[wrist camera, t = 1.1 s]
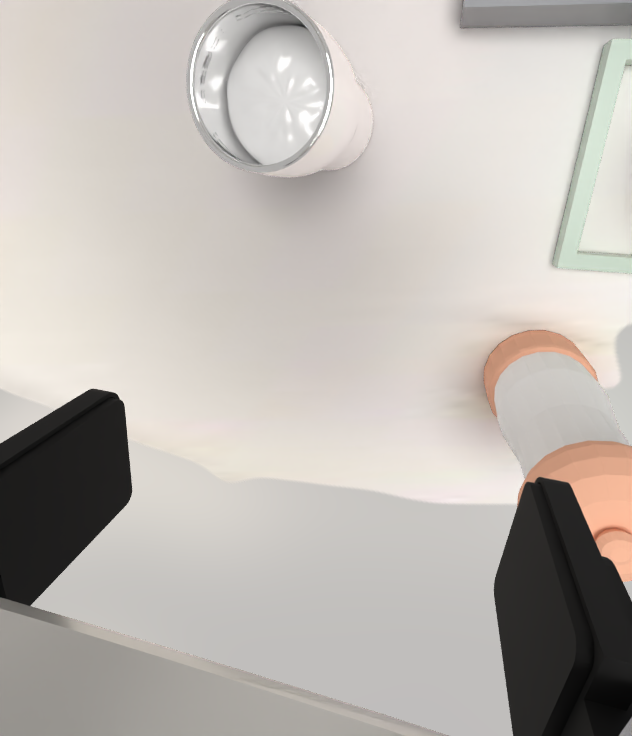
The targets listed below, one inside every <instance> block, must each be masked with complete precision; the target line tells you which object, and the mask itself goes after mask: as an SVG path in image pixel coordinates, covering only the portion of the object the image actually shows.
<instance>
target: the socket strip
mask: <svg viewBox="0 0 632 736" xmlns="http://www.w3.org/2000/svg"><path fill="white" fill-rule="evenodd" d="M602 25H632V0H464V2H463V9H462V17H461V24H460V28H489V27H545V26H602Z"/></svg>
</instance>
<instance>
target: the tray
mask: <svg viewBox="0 0 632 736" xmlns="http://www.w3.org/2000/svg"><path fill="white" fill-rule="evenodd" d="M625 65H632V39H612V40H610V41H609V42H608V43H607V44H605V45H604V47H603V52H602V56H601V60H600V64H599V68H598V73H597V77H596V81H595V85H594V90H593V94H592V98H591V102H590V106H589V111H588V115H587V119H586V123H585V128H584V132H583V136H582V140H581V144H580V149H579V153H578V157H577V161H576V166H575V170H574V174H573V178H572V182H571V187H570V191H569V195H568V199H567V204H566V208H565V212H564V216H563V220H562V225H561V229H560V233H559V237H558V242H557V246H556V250H555V254H554V258H553V263H552V264H553V265H554V266H555V267H557V268H566V269H578V270H591V271H604V272H617V273H629V274H632V255H624V254H610V253H595V252H581V251H578V248H579V244H580V240H581V236H582V232H583V228H584V224H585V220H586V216H587V212H588V208H589V205H590V201H591V197H592V193H593V189H594V185H595V181H596V177H597V173H598V169H599V165H600V162H601V158H602V154H603V150H604V146H605V142H606V138H607V134H608V130H609V126H610V122H611V118H612V115H613V111H614V107H615V103H616V99H617V95H618V91H619V87H620V83H621V79H622V75H623V71H624V68H625Z"/></svg>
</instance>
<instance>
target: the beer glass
mask: <svg viewBox="0 0 632 736" xmlns="http://www.w3.org/2000/svg"><path fill="white" fill-rule="evenodd" d="M186 86H187V97H188V103H189V107H190V111H191V114H192V117H193V120H194V123H195V125H196V127H197V129H198V131H199V133H200V135H201V136H202V138H203V139H204V141H205V142H206V144H207V145H208V146H209V147H210V149H211V150H212V151H213V152H214V153H215V154H216V155H217V156H219V157H220V158H221V159H222V160H224V161H225V162H227V163H228V164H230V165H232V166H234V167H236V168H238V169H241V170H244V171H248V172H253V173H259V174H263V175H267V176H272V177H282V178H293V177H301V176H307V175H310V174H313V173H316V172H318V171H320V170H338V169H341V168H344V167H346V166H348V165H350V164H351V163H353V162H354V161H355V160H357V159H358V158H359V157H360V155H361V154H362V153H363V152H364V150H365V148H366V147H367V145H368V143H369V140H370V137H371V134H372V129H373V112H372V107H371V104H370V101H369V98H368V96H367V94H366V92H365V91H364V90H363V88H362V87H361V86H360V85H359V84H358V83H357V82H356V78H355V74H354V71H353V69H352V66H351V64H350V62H349V60H348V59H347V57H346V55H345V53H344V52H343V50H342V49H341V47H340V46H339V44H338V43H337V42H336V40H335V39H334V38H333V37H332V36H331V35H330V34H329V33H328V32H327V31H326V30H325V29H324V28H323V27H322V26H321V25H320V24H319V23H317V22H316V21H315V20H314V19H313V18H311V17H310V16H309V15H308V14H307V13H306V12H305V11H304V10H303V9H302V8H300V7H299V6H298V5H296V4H295V3H293V2H292V1H290V0H229V1H227V2H226V3H224V4H223V5H221V6H220V7H219V8H218V9H216V10H215V11H214V12H213V13H212V14H211V15H210V16H209V18H208V19H207V20H206V21H205V23H204V24H203V26H202V27H201V29H200V31H199V32H198V34H197V36H196V38H195V41H194V43H193V46H192V49H191V52H190V56H189V60H188V66H187V77H186Z"/></svg>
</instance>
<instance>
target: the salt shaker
mask: <svg viewBox="0 0 632 736" xmlns="http://www.w3.org/2000/svg"><path fill="white" fill-rule="evenodd" d="M484 384H485V389H486V393H487V397H488V401H489V404H490V407H491V410H492V412H493V414H494V415H495V416H496V417H497V418H498V423H499V426H500V429H501V432H502V435H503V437H504V438H505V440H506V441H507V443H508V445H509V446H510V448H511V449H512V451H513V453H514V454H515V456H516V457H517V459H518V461H519V462H520V465H521V468H522V471H523V475H524V478H525V480H524V482H523V484H522V486H521V488H520V491H519V494H518V504H519V501H520V498H521V495H522V491H523V488H524V486H525V484H526V482H533V483H535V480H536V479H537V478H538V477H543V478H548V479H553V480H559V481H564V482H568V483H569V484H570V485H571V487H572V489H573V491H574V494H575V496H576V498H577V501H578V503H579V505H580V508H581V510H582V512H583V515H584V517H585V519H586V521H587V524H588V526H589V528H590V531H591V533H592V535H593V538H594V540H595V542H596V544H597V547H598V549H599V551H600V554H601V556H603V557H607V558H609V559H610V560H611V561H612V562H613V563H614V565H615V567H616V569H617V571H618V573H619V575H620V577H621V579H622V582H626V581H632V446H631V444H630V443H629V442H628V440H627V439H626V437H625V436H624V434H623V433H622V432H621V430H620V428H619V426H618V423H617V420H616V417H615V414H614V411H613V408H612V405H611V402H610V400H609V397H608V395H607V393H606V392H605V391H604V389H603V388H602V387H601V385H600V384H599V383H598V380H597V376H596V372H595V370H594V369H593V367H592V366H591V365H590V363H589V362H588V361H587V359H586V358H585V357H584V356H583V354H582V353H581V352H580V351H579V349H578V348H577V347H576V346H575V345H574V343H573V342H571V341H570V340H568V339H566V338H565V337H563V336H562V335H560V334H557V333H553V332H549V331H545V330H537V331H526V332H522V333H519V334H516V335H512V336H511V337H509V338H508V339H506V340H505V341H503V342H502V343H500V344H499V345H498V346H497V347H496V348H495V349H494V351H493V352H492V353H491V354H490V355H489V358H488V360H487V363H486V365H485V368H484ZM518 504H517V507H518Z"/></svg>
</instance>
